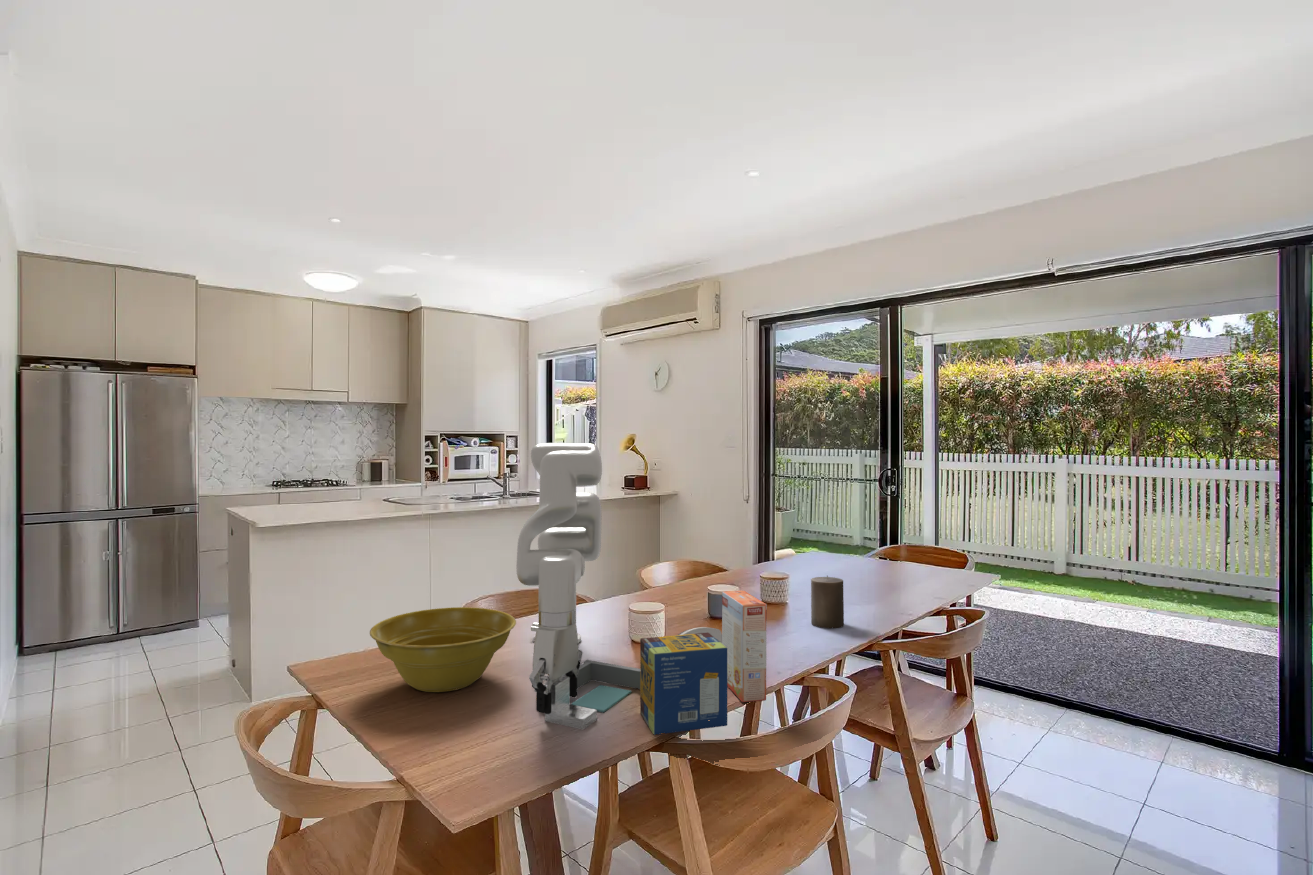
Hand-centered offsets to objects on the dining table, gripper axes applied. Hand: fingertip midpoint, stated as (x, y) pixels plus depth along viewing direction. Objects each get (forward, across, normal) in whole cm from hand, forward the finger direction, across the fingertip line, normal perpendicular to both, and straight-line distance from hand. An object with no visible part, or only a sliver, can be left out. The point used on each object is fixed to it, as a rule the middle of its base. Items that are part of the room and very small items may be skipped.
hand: (557, 703), depth 131 cm
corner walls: (+3, -12, +3) cm, 13 cm away
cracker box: (+3, -30, +29) cm, 42 cm away
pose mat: (+3, -12, +3) cm, 13 cm away
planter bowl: (+3, -5, -35) cm, 35 cm away
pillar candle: (+3, -92, +35) cm, 99 cm away
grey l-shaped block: (+3, 0, +3) cm, 4 cm away
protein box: (+3, -10, +23) cm, 25 cm away
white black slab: (+3, -42, +14) cm, 44 cm away
